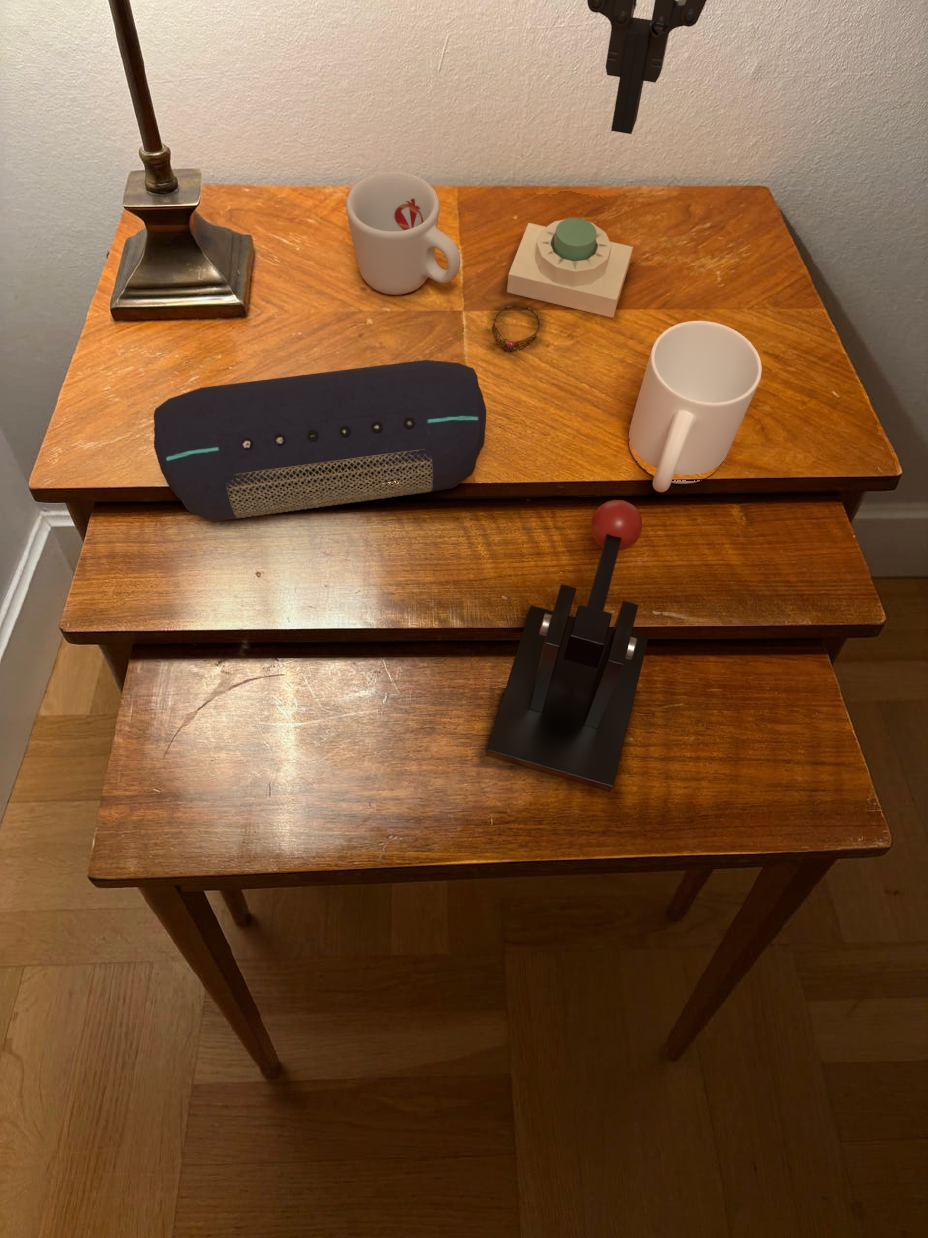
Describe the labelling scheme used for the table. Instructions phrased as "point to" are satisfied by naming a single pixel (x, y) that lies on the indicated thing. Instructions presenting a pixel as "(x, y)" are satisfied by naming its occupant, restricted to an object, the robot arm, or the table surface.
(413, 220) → the cup
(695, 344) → the mug
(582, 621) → the lever
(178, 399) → the portable speaker
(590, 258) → the button block
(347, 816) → the table surface
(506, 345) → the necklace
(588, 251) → the button
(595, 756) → the lever base
